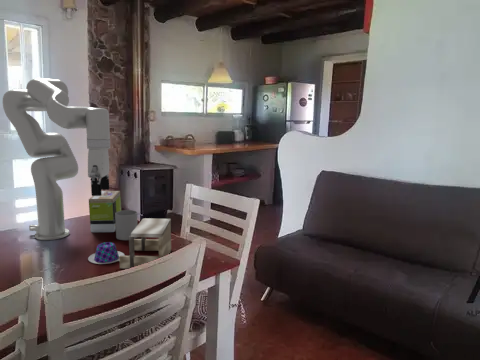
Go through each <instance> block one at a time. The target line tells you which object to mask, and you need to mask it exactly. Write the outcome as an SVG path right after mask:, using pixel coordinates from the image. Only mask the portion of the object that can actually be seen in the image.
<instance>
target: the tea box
mask: <svg viewBox="0 0 480 360" xmlns="http://www.w3.org/2000/svg"><path fill="white" fill-rule="evenodd" d="M101 192H102V195H101V196H92V195H91V197H89V198H88V210H89V211H88V212H89V223H90V232H91V233H114V232H115V233H116V219H115V213H116V212H118V211H122V202H121V201H122V200H121V190H101Z"/></svg>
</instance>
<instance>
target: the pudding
mask: <svg viewBox="0 0 480 360" xmlns="http://www.w3.org/2000/svg"><path fill="white" fill-rule="evenodd" d="M119 256H126V255H125V253H124V252H122V251H118V249H117V246H116V244H115V243H114V242H111V241H107V242H106V241H105V242H100V243H99V244H98V245H96V250H95V253H92V254H90V255H89V256H88V258H87V260H88V261H89V262H90V263H92V264H95V265H96V264H98V265H106V264H112V263H116V262H119Z"/></svg>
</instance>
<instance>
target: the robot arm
mask: <svg viewBox="0 0 480 360" xmlns="http://www.w3.org/2000/svg"><path fill="white" fill-rule="evenodd" d="M25 87H26V88H25V89H21V88H20V89H19V88H18V89H11V90H8V91H6V92H5V93H4V94H3V96H2V107H3V108H2V109H3V111H4V113H5V116H6V117H7V119H8V120H9V122H10V123H11V124H12V126H13V127H14V129H15V131H16V133H17V135H18V137H19V139H20V142H21V143H22V146H23V147H24V150H25V152H26V154H27V155H28V156H29V157H31V158H35V159H36V158H37V159H36V160H34V161H33V162H32V164H31V166H30V172H31V173H30V174H31V176H32V180H33V184H34V189H35V190H34V191H35V200H36V209H37V210H36V211H37V212H36V213H37V222H38V223H37V224H29V228H28V229H29V232H33V231H34V232H35V234H34V238H35V239H37V240H41V241H53V240H59V239H63V238H65V237H67V236H69V235H70V230H69V229H68V228H66V226H65V224H66V223H65V221H66V220H65V208H64V192H63V190H62V187H61V186H60V185H59V184H58V182H57V181H62V180H68V179H73V178H75V177H76V176H77V175H78V173H79V165H78V161H77V159H76V156H75V154H74V152H73V151H72V148H71V146H70V144H69V141H68V139H66V137H65V136H63V135H62V134H60V133H59V132H45V131H44V130H42V128H41V125H40V123H39V122H38V120H37V119H35V118H34V117H33V116H32V115H31V114H29V113H28V112H46V114H47V116H48V118H49V119H50V121H51V122H52V123H54V124H56V125H57V126H59V127H61V128H62V129H67V130H75V129H77V130H78V129H85V130H86V131H85V132H86V147H87V150H88V153H87V177H88V178H90V189H91V190H90V191H91V192H90V193H91V197H92V196H101V195H102V192H101V191H110V175H109V173H110V157H109V156H110V155H109V149H111V135H110V134H111V133H110V130H111V129H110V112H109V110H108V109H107V108H103V107H92V106H68V105H69V103H70V97H69V89H68V86H67V84H66V83H65V82H64V81H62V80H61V79H56V78H55V79H53V78H43V77H37V78H32V79H31V80H29V81H28V82H27V84H26V86H25Z"/></svg>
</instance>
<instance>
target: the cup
mask: <svg viewBox="0 0 480 360" xmlns="http://www.w3.org/2000/svg"><path fill="white" fill-rule="evenodd" d="M115 219H116V230H115V238H116V239H117V240H120V241H129V236H131V233H132V231H133V230H134V229H135V228H136V227H137V225H138V224H139V223H138V211H136V210H132V209H125V210H124V209H123V210H121V211H118V212H116V213H115ZM134 239H138V237H134Z"/></svg>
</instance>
